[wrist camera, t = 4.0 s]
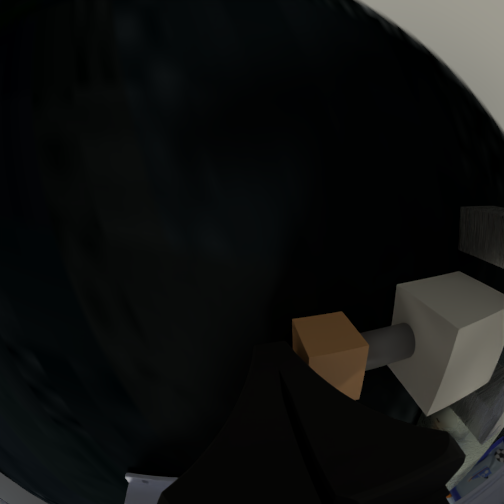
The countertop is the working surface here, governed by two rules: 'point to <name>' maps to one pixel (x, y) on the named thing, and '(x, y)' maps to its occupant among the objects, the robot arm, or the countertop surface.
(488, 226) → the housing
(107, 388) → the countertop surface
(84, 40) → the countertop surface
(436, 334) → the plug
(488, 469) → the lunch bag
